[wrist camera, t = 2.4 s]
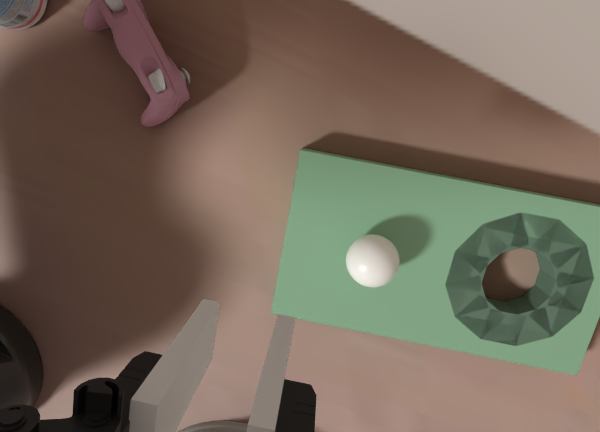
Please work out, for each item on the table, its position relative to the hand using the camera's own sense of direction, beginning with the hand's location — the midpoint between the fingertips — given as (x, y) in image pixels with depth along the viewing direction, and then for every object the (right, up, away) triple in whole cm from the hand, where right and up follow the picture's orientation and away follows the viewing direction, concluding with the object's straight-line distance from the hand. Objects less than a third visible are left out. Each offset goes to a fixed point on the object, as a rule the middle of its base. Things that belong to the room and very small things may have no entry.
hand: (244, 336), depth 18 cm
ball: (+8, +2, +13) cm, 16 cm away
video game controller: (-10, +18, +16) cm, 26 cm away
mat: (+14, +2, +18) cm, 23 cm away
